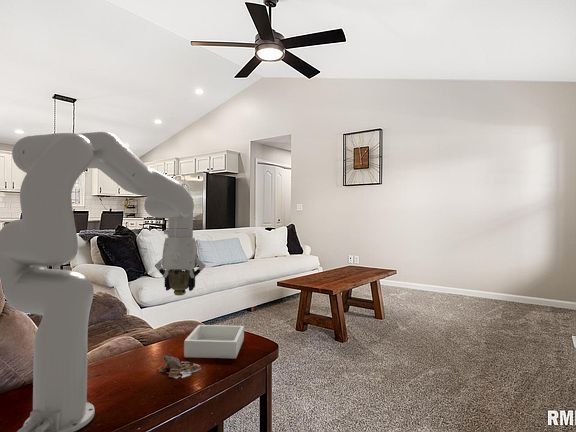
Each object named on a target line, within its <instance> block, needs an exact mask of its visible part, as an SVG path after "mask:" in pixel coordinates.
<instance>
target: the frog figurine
mask: <svg viewBox="0 0 576 432" xmlns="http://www.w3.org/2000/svg"><path fill="white" fill-rule="evenodd" d="M162 362H164V363H165V364H164V365H163V366H161V367H160V368H159V372H161V373H166V371H167V369H166V368H168V369H169V372H168V377H169V378H174V379H179V378H180V377H181V379H184V378H187V377H190V376H192V374H193V373H196V372H198V371H200V370H201V369H202V367H201V365H199V364H197V363H194V362H192V361H191V362H190V361H187V360H186V361H180V359H179V358H178V357H174V356H172V354H171V353H170V354H167V355H164V356H163V357H162ZM182 363H184V364H182ZM190 364H193V365H190ZM179 374H181V375H182V376H181V375H179Z"/></svg>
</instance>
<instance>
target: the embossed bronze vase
mask: <svg viewBox="0 0 576 432" xmlns="http://www.w3.org/2000/svg"><path fill="white" fill-rule="evenodd" d="M168 272H169V273H168V276H169V284H170V287H171V289H172V290H173V295H175V296H185V294H186V293H187V291H186V290H188V289H189V278H190V271H189V272H188V270H172V271H168Z"/></svg>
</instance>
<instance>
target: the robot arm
mask: <svg viewBox="0 0 576 432" xmlns="http://www.w3.org/2000/svg"><path fill="white" fill-rule="evenodd" d="M11 155H12V160H13V162H14V164H15V166H16V167H17V168H18V169H19V170H21V171H22V172H24V173H25V176H24V178H23V179H22V182H21V186H20V189H19V203H20V210H21V218H20V219H15V220H12V221H10V222H8V223H6V224H5V225H4V226H3V227H1V229H0V282H1V287H2V291H3V294H4V297H5V300H6V302H7V303H8V305H9V306H10V307H11V308H12V309H14V310H16V311H18V312H21V313H27V314H33V315H38V316H42V318H41V321H40V323H39V325H38V327H37V329H36V331H35V335H34V338H33V348H32V350H33V366H32V368H33V369H32V370H33V371H32V372H33V374H32V377H33V379H32V386H33V387H32V411H30V413H29V414H30V415H29V417H28V418H27V419H26V420H25V421H24V423H23V425H22V427H21V428H19V429H18V430H17V431H16V432H77V431H79V430H81V429H82V428H84V427H85V426H87V425H88V424H89V423H90V422H91V421H92V420H93V418H94V417H95V414H96V413H95V409H96V408H95V406H94V405H93V404H92V403H90V402H89V401H88V399H87V398H88V396H87V395H88V393H87V392H88V336H89V335H88V332H89V331H88V328H89V319H90V318H89V317H90V312H91V307H92V304H93V299H94V293H95V292H94V286H93V283H92V281H91V279H90V278H89V277H87V276H86V275H85V274H83V273H81V272H79V271H75V270H70V269H59V268H57V269H56V268H48V267H59V266H64V265H67V264H69V263H71V262H72V261H73V260H74V259H75V258H76V256H77V254H78V249H79V243H78V235H77V227H76V223H75V217H74V211H73V203H72V194H73V188H74V186H75V184H76V183H77V181H78V179H79V178H80V176H81V175H82V174H83V173H84V172H85V171H86V170H88V169H97V170H100V171H101V172H102V173H103V174H105V175H106V176H107V177H108V178H110V179H111V180H112V181H113V182H114V183H115V184H117V185H118V187H120V188H121V189H123V190H124V191H126V192H129V193H132V194H133V195H134V194H135V195H138V196H143V197H146V199H145V200H144V204H143V205H144V210H145V212H146V213H147V214H148V215H149V216H151V217H153V218H158V219H163V218H164V219H168V220H167V223H168V226H167V229H163V234H164V235H167V237H165V239H164V243H163V249H162V256H161V257H162V258H161V259H159V260H158V261H157V263H155V265H154V267H155V269H156V270H157V271H158V272H159V273H160V274H161V275H162V277H163V279H164V288H165V291H167V292H168V291H169V290H171V289H172V288H171V287H170V284H169V276H168V273H169V272H168V271H172V270H182V271H185V270H188V272H189V271H190V278H189V287H188V291H189V292H192V291H193V290H194V289H195V288H196V277H197V276H198V275H199V274H200V273H201V272H202V271H203V270H204V269H205V268H206V264H205V263H204V262H203V261H202V260H201V259H200V258H198V252H197V251H198V250H197V244H196V238H195V237H194V210H195V209H194V208H195V205H194V198H193V196H192V195H191V194H190V192H189V191H188V190H187V189H186V188H185V187H184V186H183V185H182V184H181V183H180V182H179V181H177V180H176V179H174V178H172V177H170V176H168V175H166V174H164V173H162V172H160V171H158V170H156V169H153V168H152V167H149V166H148V165H146V163H144V162H143V160H142V159H140V158H139V157H138V156H137V154H135V153H134V152H133V151H132V149H130V147H128V146H127V144H125V143H124V141H122V140H121V138H119V137H118V136H117V135H115V134H114V133H111V132H108V131H96V132H80V133H74V132H58V133H50V134H49V133H48V134H38V135H37V134H35V135H28V136H24V137H22V138H20V139H19V140H17V141H16V142H15V143H14V145H13V147H12V151H11ZM197 266H198V268H197V269H196V270H195V268H196V267H197Z"/></svg>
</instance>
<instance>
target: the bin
mask: <svg viewBox="0 0 576 432" xmlns="http://www.w3.org/2000/svg"><path fill="white" fill-rule="evenodd" d="M244 340H245V325H223V324H222V325H220V324H219V325H218V324H217V325H216V324H198V325H197V326H196V327H195V328H194V329H193V330H192V331H191V333H190V334H189V335H188V336H187V337H186V338H185V340H184V341H183V342H184V343H183V358H199V359H200V358H201V359H202V358H203V359H204V358H206V359H237V357H238V355H239V353H240V350H241V348H242V345H243V343H244Z"/></svg>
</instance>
